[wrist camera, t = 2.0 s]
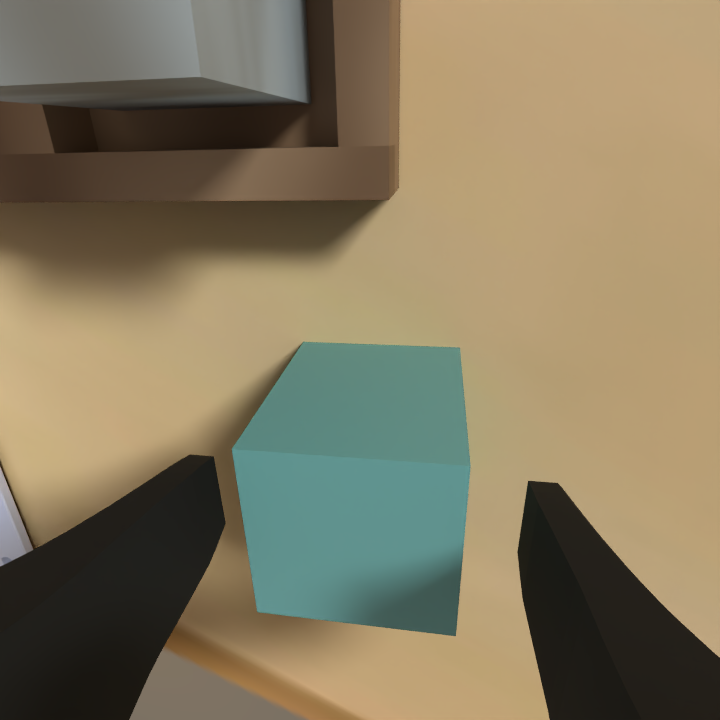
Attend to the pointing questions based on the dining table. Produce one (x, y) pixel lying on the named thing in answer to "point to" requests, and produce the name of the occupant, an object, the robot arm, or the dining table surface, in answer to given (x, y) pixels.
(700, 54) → the dining table surface
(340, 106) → the puzzle board
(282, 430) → the teal block
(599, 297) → the dining table surface
